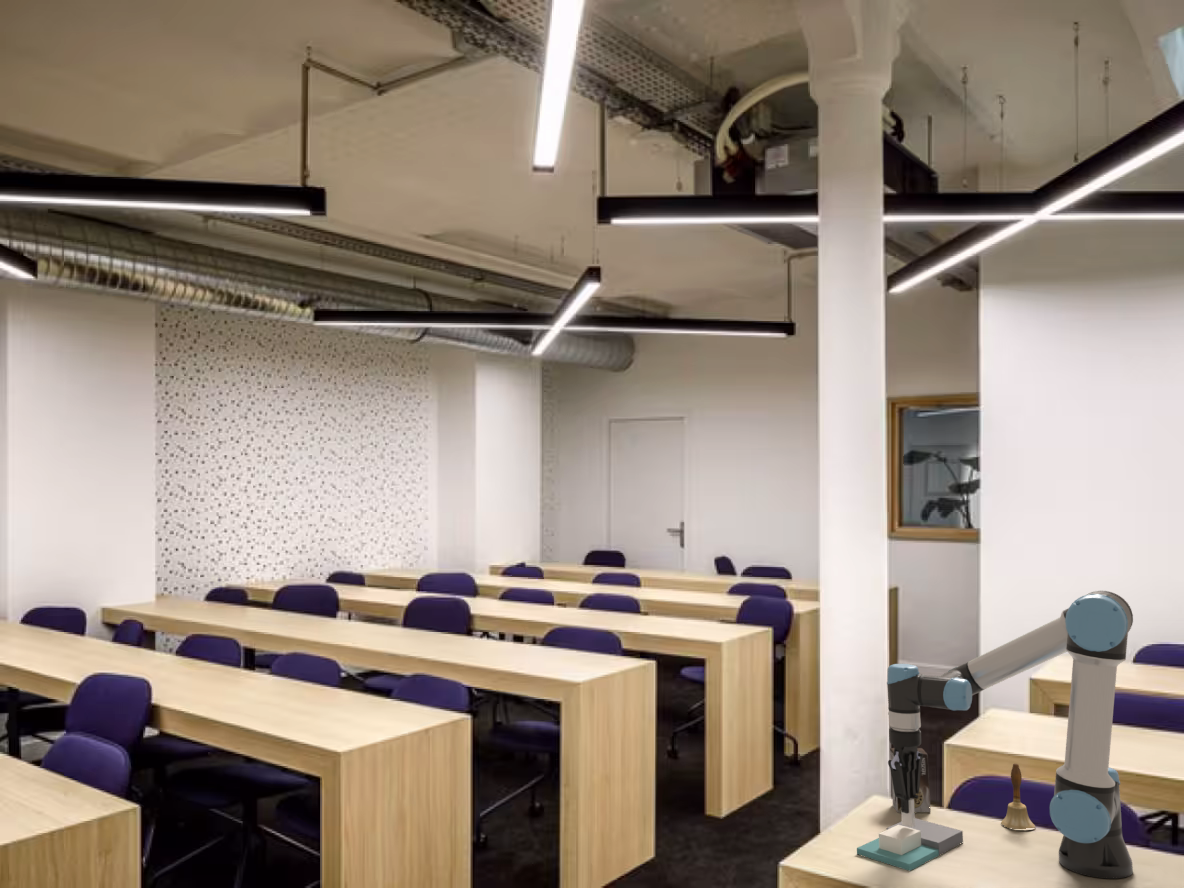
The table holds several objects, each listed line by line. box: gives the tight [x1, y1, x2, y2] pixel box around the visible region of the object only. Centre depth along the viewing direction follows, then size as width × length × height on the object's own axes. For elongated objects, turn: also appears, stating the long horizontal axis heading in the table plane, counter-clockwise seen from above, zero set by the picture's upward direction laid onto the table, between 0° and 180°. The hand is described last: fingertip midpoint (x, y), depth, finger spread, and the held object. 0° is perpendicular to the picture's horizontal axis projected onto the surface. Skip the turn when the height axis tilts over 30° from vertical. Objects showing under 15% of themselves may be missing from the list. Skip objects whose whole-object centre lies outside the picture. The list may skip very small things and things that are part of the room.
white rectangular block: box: [878, 825, 921, 855], centre depth 222 cm, size 6×9×4 cm, turn 131°
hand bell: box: [1000, 763, 1036, 829], centre depth 240 cm, size 8×8×16 cm
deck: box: [886, 817, 964, 856], centre depth 229 cm, size 14×12×3 cm
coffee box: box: [889, 747, 932, 814], centre depth 254 cm, size 9×6×16 cm
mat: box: [856, 837, 940, 872], centre depth 221 cm, size 14×13×2 cm
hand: (908, 825), depth 225 cm, fingers closed
